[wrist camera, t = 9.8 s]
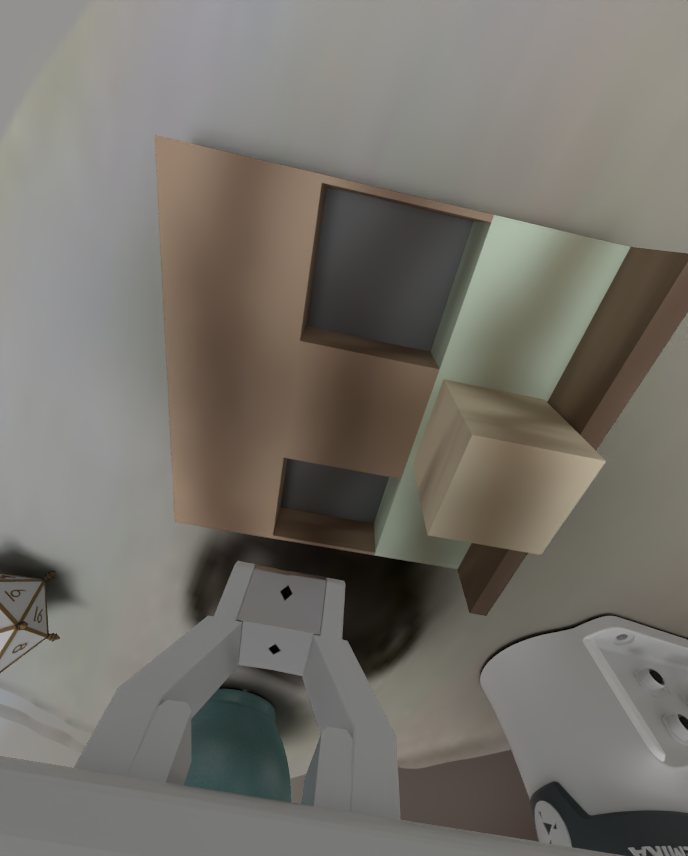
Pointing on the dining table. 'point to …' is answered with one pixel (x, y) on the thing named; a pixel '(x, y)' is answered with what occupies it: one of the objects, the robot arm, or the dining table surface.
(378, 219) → the box
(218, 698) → the flower pot
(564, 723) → the robot arm
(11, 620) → the game die
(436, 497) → the maple block
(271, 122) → the dining table surface
